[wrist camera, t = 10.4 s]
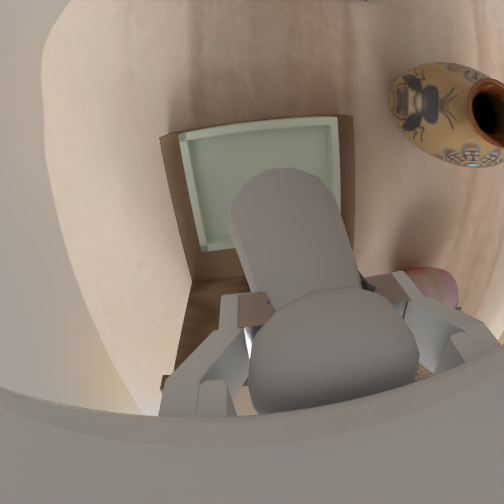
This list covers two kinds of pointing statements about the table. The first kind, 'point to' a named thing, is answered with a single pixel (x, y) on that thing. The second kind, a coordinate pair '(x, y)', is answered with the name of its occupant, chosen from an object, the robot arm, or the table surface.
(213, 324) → the wooden stand
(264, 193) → the salt shaker
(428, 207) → the table surface
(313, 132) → the tray
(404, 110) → the ceramic vessel
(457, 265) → the table surface
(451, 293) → the decorative fruit
